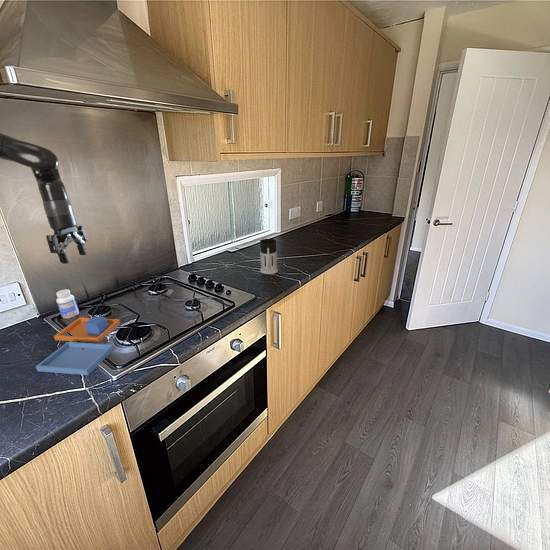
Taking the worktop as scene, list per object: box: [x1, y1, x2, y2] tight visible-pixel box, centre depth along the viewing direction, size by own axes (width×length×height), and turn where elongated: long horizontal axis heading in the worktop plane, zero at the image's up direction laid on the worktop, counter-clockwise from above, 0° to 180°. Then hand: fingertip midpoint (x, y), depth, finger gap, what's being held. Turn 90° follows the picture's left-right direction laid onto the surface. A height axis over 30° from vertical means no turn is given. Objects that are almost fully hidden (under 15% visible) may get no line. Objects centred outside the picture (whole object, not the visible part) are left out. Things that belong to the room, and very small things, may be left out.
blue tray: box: [35, 341, 115, 376], centre depth 83 cm, size 15×11×2 cm
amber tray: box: [53, 317, 121, 344], centre depth 97 cm, size 15×11×2 cm
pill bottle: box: [55, 288, 80, 319], centre depth 106 cm, size 5×5×10 cm
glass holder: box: [259, 238, 279, 275], centre depth 137 cm, size 9×14×15 cm, turn 1°
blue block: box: [85, 316, 109, 336], centre depth 95 cm, size 4×4×4 cm
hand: (74, 258), depth 103 cm, fingers open, 8 cm apart
